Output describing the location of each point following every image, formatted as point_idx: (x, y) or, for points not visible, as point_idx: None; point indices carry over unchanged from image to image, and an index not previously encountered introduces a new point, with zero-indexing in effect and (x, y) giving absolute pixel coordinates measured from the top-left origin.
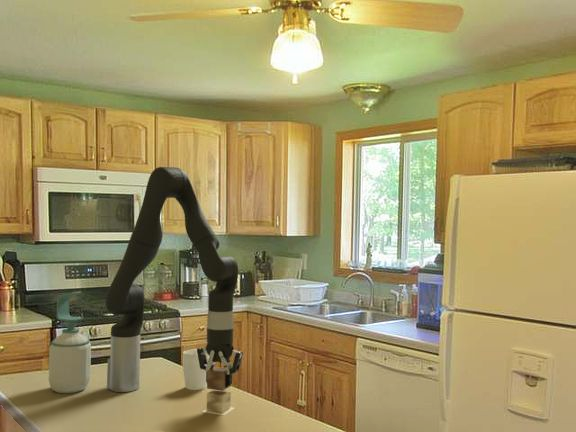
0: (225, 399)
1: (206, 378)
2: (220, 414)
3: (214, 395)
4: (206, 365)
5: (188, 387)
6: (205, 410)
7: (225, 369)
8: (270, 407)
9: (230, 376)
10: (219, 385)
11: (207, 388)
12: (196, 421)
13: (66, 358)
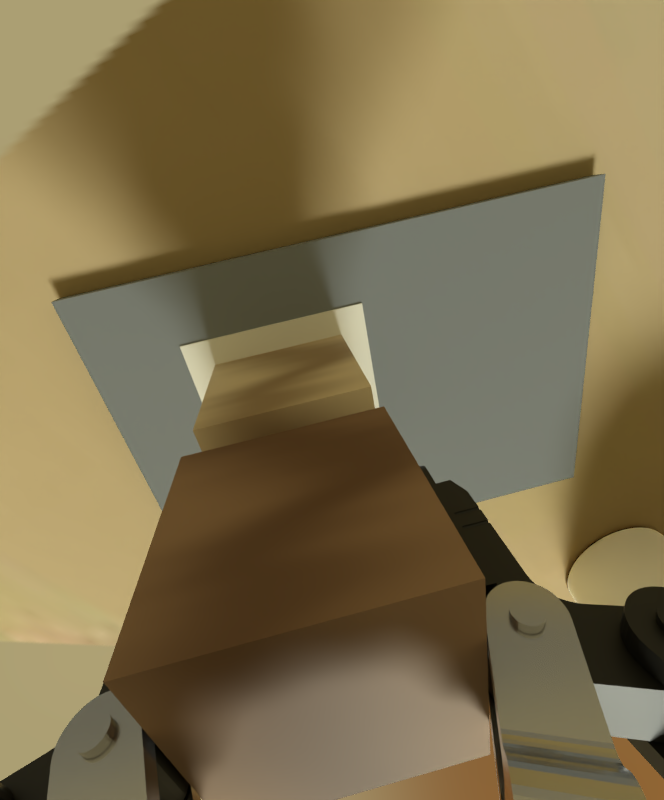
0: None
1: (477, 514)
2: (210, 342)
3: (284, 402)
4: (623, 710)
5: (652, 539)
6: (356, 340)
7: (125, 795)
8: (119, 614)
9: None
10: (216, 480)
11: (378, 410)
12: (283, 140)
13: None
